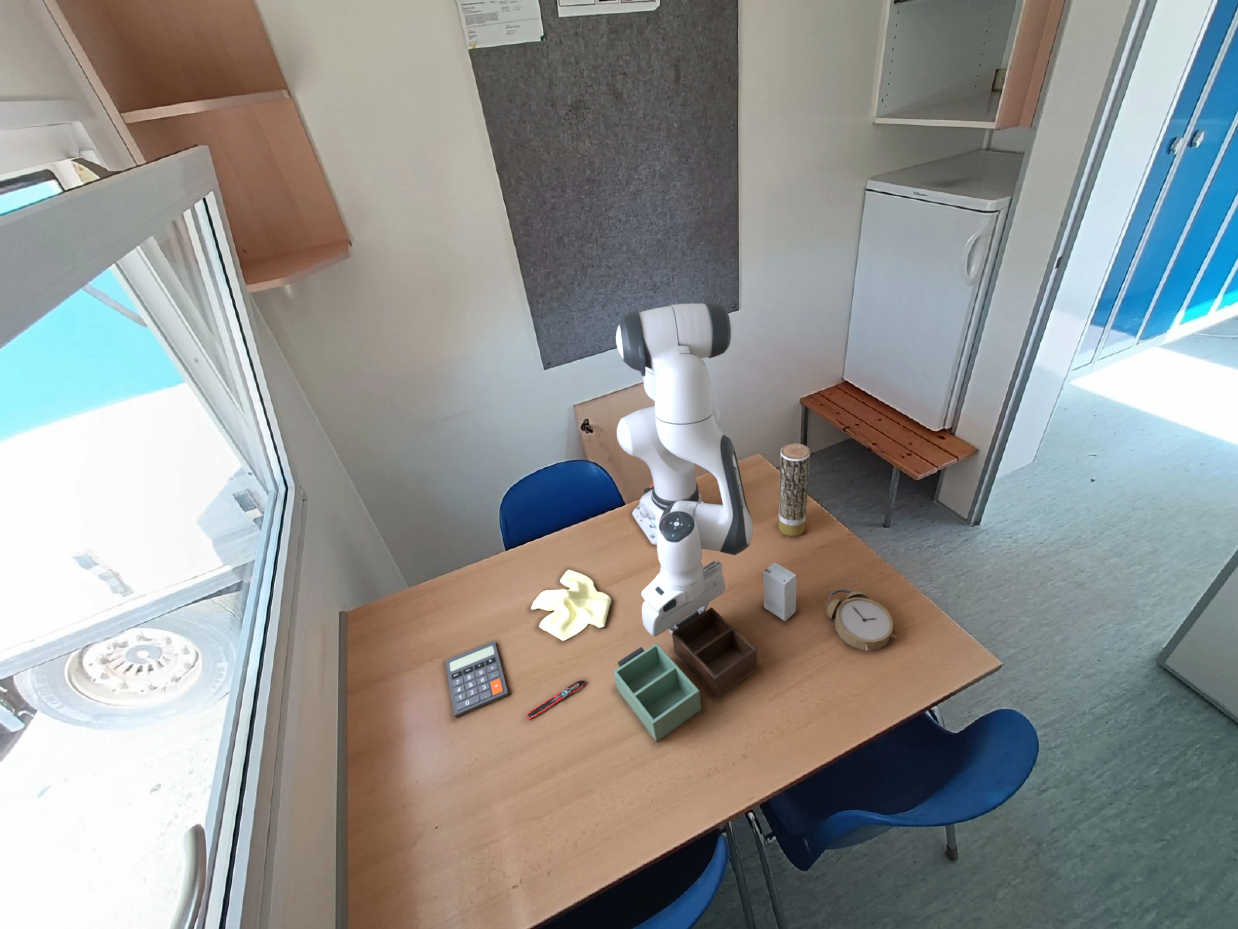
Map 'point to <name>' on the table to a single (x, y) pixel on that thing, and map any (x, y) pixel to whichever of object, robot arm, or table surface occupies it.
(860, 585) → the table surface
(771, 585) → the cosmetic box
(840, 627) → the alarm clock
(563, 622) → the cloth
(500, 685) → the calculator
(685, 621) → the walnut shelf
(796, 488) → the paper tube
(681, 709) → the sage shelf
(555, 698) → the pen
